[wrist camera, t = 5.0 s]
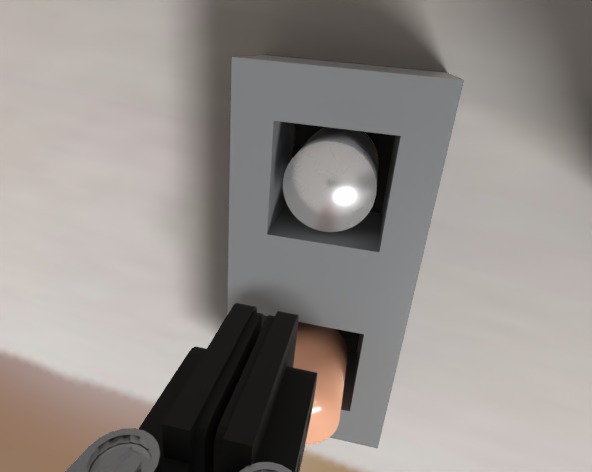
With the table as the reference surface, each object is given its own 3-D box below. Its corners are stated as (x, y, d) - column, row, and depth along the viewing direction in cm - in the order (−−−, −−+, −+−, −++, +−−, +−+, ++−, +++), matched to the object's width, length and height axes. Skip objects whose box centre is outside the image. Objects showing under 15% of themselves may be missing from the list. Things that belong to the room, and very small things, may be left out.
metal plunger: (384, 128, 26) (383, 148, 21) (372, 205, 28) (368, 238, 23) (305, 119, 27) (286, 135, 22) (298, 194, 29) (279, 224, 24)
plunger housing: (447, 72, 25) (463, 80, 19) (379, 386, 35) (377, 448, 29) (263, 54, 26) (231, 56, 21) (249, 359, 36) (225, 413, 31)
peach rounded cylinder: (352, 327, 28) (345, 388, 23) (343, 385, 30) (333, 452, 25) (277, 312, 28) (254, 369, 23) (273, 371, 30) (250, 433, 25)
